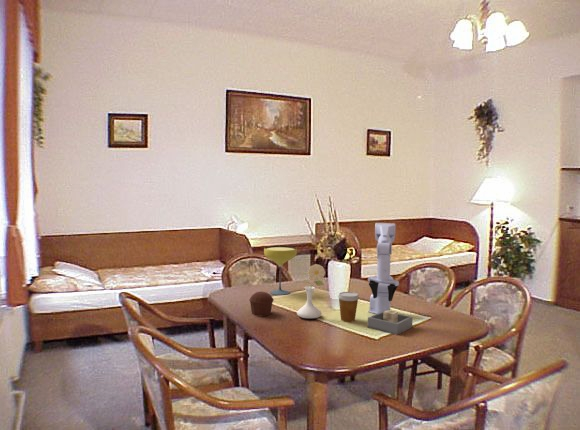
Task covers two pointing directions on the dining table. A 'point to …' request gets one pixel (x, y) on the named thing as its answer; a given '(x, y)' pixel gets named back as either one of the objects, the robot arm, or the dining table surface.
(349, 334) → the dining table surface
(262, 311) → the muffin
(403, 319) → the charcoal bin
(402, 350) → the dining table surface
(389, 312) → the birch block
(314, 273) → the flower in vase
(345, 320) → the disposable coffee cup
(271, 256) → the cocktail glass
